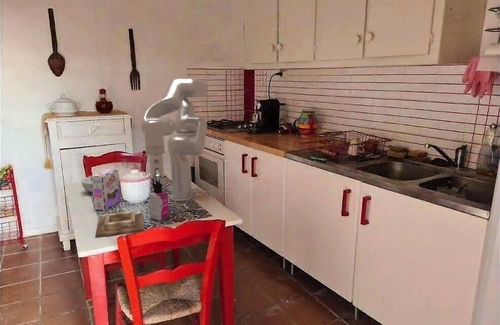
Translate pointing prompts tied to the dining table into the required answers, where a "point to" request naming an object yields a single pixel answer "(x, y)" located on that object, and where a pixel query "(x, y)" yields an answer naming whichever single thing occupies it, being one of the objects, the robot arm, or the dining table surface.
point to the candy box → (105, 189)
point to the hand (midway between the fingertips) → (157, 189)
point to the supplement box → (159, 206)
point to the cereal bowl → (87, 184)
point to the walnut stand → (119, 224)
